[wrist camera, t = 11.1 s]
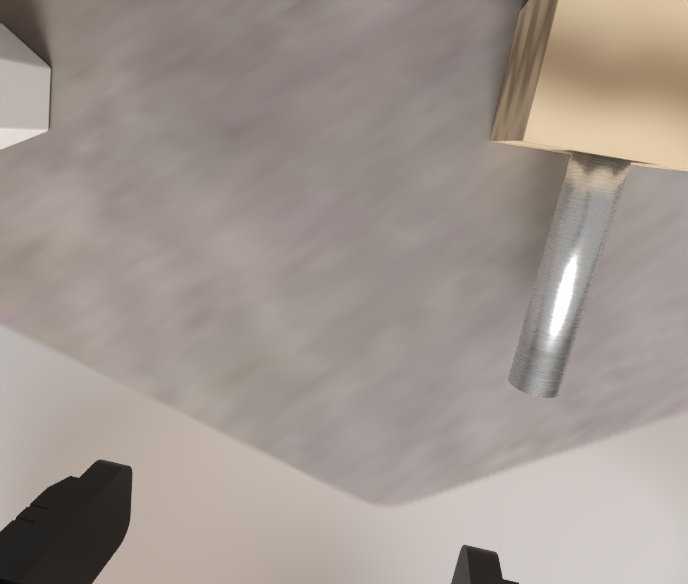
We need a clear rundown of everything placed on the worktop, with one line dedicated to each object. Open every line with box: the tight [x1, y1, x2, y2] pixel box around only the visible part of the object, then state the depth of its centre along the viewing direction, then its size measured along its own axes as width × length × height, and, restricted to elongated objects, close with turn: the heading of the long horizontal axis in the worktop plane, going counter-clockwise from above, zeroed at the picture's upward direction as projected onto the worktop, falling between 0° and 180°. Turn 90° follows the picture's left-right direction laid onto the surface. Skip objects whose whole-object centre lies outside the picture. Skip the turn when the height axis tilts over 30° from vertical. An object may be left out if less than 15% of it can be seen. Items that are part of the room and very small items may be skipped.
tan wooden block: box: [490, 0, 688, 171], centre depth 28 cm, size 8×10×12 cm
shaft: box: [508, 150, 632, 398], centre depth 29 cm, size 19×3×3 cm, turn 171°
